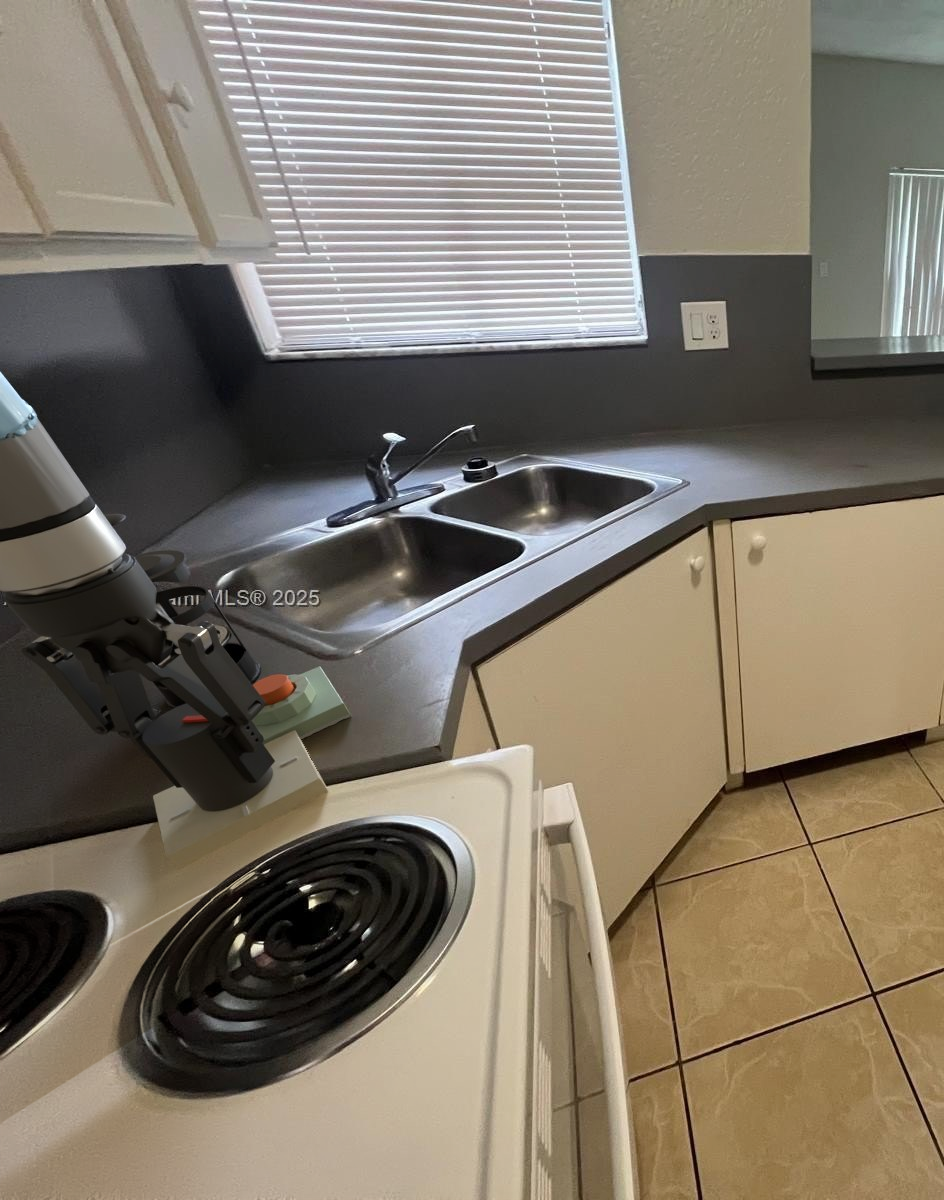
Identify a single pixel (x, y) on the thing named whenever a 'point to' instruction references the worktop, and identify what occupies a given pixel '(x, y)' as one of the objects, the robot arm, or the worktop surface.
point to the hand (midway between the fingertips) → (226, 773)
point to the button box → (302, 707)
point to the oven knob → (199, 760)
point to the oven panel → (207, 831)
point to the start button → (274, 688)
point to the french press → (174, 570)
